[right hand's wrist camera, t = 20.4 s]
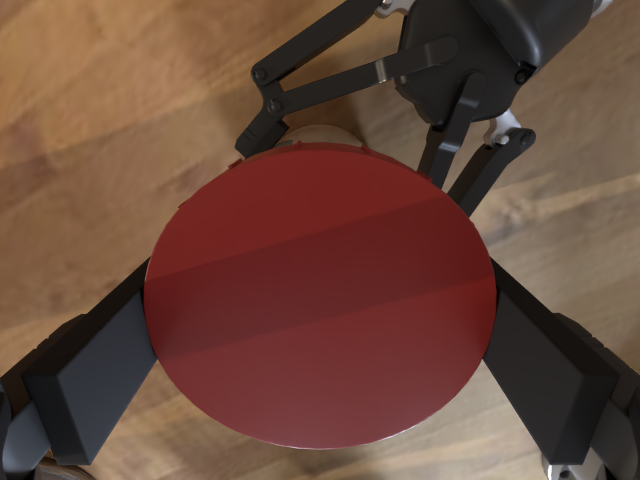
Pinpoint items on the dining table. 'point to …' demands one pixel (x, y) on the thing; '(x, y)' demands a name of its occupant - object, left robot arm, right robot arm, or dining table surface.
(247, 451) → the dining table surface
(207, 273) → the lid
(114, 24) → the dining table surface
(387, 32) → the dining table surface
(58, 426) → the right robot arm
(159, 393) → the dining table surface
